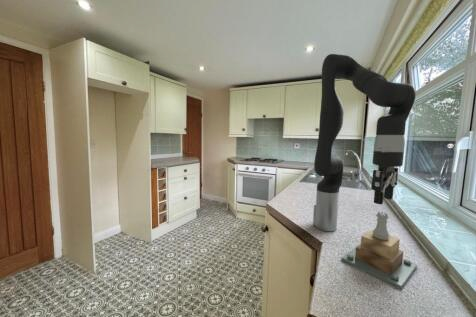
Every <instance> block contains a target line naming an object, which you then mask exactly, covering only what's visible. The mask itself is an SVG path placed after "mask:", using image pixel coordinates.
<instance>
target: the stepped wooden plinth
mask: <svg viewBox="0 0 476 317" xmlns="http://www.w3.org/2000/svg"><path fill="white" fill-rule="evenodd" d="M373 230H374V229H370V230H368V231H367V232H366V233H363V234H362V235H361V236H360V237H361V239H360V244H358V245H357V246H355V248H356V253H355V259H357V260H359V261H361V262H363V263H365V264H368V265H370V266H372V267H374V268H376V269H379V270H381V271H383V272H385V273H387V274H390V275H391V274H393V273H394V272H395V271H396V270H397V269H398V268H399V266H400V265H401V264H402V261H403V258H404V251H403V250H401V249H399V248H400V238H398V237H395V236H392V235H389V236H388V237H389V239H388V240H380V239H377V238H375V237H374V236H373Z"/></svg>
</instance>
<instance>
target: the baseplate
mask: <svg viewBox="0 0 476 317" xmlns="http://www.w3.org/2000/svg"><path fill="white" fill-rule="evenodd" d="M355 253H356V247H355V248H353V249H352V250H350V251H348V252H347V253H346V254H344V255H343V256H341V258H340V259H341V261H342V262H344V263H346V264H348V265H350V266H352V267H354V268H356V269H359V270H360V271H363V272H365V273H366V274H368V275H370V276H373V277H375V278H377V279H378V280H381V281H382V282H385V283H387V284H389V285H391V286H393V287H395V288H397V289H399V290H402V289H403V287H404V285H405V284H406V283H407V282H408V281H409V279H410V278H411V277H412V275H413V273H414V272H415V271H416V269H417V268H418V264H417V263H414V262H412V261H410V260H408V259H403V261H402V264H401V265H400V266H399V268H398V269H397V270H396V271H395V272H394V273H393V274H391V275H390V274H387V273H385V272H383V271H381V270H379V269H376V268H374V267H372V266H370V265H368V264H365V263H363V262H361V261H359V260H357V259H355Z"/></svg>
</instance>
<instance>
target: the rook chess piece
mask: <svg viewBox="0 0 476 317" xmlns="http://www.w3.org/2000/svg"><path fill="white" fill-rule="evenodd" d="M376 217H377V219H376V225H375V226H376V227H375V228H374V229H372V230H373V236H374V237H375V238H377V239H380V240H388V239H389V237H388V236H390V233H389V231H388V227H387V225H388V224H387V223H388V219H389V215H388V213H386V212H383V211H381V212H380V211H378V212H377V214H376Z"/></svg>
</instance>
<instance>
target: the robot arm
mask: <svg viewBox="0 0 476 317" xmlns="http://www.w3.org/2000/svg"><path fill="white" fill-rule="evenodd" d="M336 80H347V81H351V82H352V85H353V87H354V88H355V89H356V90H357V91H358V92H360V93H361V94H364V95H365V96H367V98H368V99H369V101H370V102H372V104H374V105H376V106H377V107H381V108H389V111H388V113H387V114H386V115H382V116H380V117H379V118H378V119H377V122H376V131H375V139H374V142H373V152H372V164H373V165H375V166H378V169H373V171H372V179H371V187H370V189H371V191H372V190H373V191H374V193H373V194H374V196H373V203H374V204H377V205H383V204H384V199H385V200H386V199H387V200H392V199H393V197H394V190H395V188H396V186H397V185H398V177H399V174H398V173H399V167H403V164H404V154H405V146H406V145H405V142H406V141H405V136H406V135H405V133H406V126H407V125H406V122H407V120H408V118H409V116H410V114H411V110H412V108H413V106H414V104H415V101H416V95H417V94H416V89H415V87H414V86H413V85H412V84H410V83H403V82H391V81H389V80H388V78H387V77H386V76H384V75H382V74H380V73H378V72H376V71H373V70H372V69H369V68H366V67H364V66H363V65H362V64H360V63H359V62H357V61H356V60H355V59H354V58H353V57H351V56H349V55H347V54H338V53H337V54H336V53H330V54H327V55H326V56H325V58H324V60H323V62H322V67H321V102H320V103H321V104H320V110H319V111H320V112H319V124H318V127H319V128H318V137H317V146H316V151H315V157H314V162H313V163H314V164H313V166H314V171H315V173H316V175H318V176H320V177H323V179H321V181H319V182H318V183H317V185H316V198H315V204H314V206H313V219H312V225H313V226H314V225H315V226H316V227H315V226H314V227H315V228H316V229H318V228H319V230H320V229H321V231H324V232H335V231H336V230H337V229H338V228H337V227H338V215H339V213H338V212H339V197H340V196H339V193H340V189H341V186H342V182H343V174H344V162H343V161H342V158H341V157H340V156H338V155H333V154H332V152H333V146H334V143H335V140H336V138H337V137H338V135H339V134H340V132H341V131H342V130H341V129H342V128H343V124H344V113H345V112H344V110H345V109H344V106H343V103H342V101H341V99H340V97H339V95H338V92H337V90H336Z"/></svg>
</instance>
